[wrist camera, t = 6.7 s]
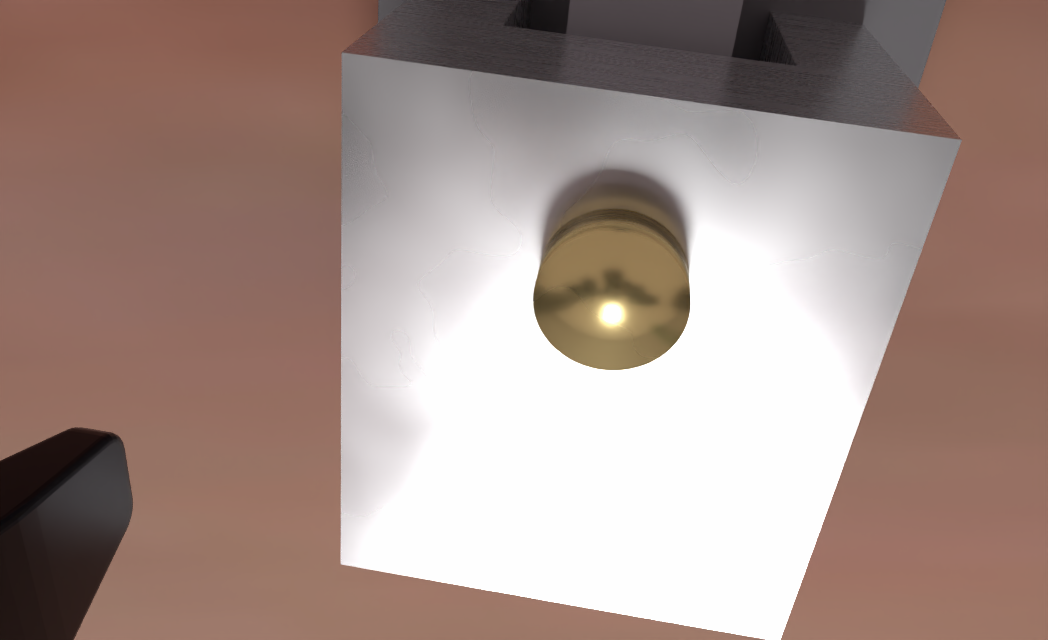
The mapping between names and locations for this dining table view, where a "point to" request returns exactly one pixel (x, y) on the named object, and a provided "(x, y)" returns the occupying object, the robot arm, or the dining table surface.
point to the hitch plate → (873, 14)
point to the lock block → (617, 303)
